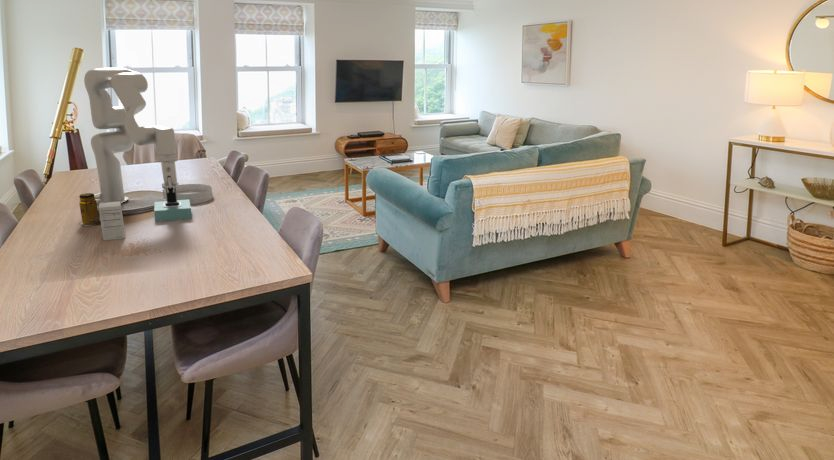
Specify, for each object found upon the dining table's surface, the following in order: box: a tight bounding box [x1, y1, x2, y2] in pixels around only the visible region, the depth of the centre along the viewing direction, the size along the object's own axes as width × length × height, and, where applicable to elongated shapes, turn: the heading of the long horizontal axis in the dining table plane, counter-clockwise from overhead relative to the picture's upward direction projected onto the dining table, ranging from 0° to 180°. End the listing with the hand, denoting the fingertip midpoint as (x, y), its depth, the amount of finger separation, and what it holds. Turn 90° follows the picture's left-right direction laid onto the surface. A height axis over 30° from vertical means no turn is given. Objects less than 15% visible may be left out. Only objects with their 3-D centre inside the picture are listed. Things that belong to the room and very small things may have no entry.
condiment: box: [78, 192, 101, 227], centre depth 236 cm, size 7×8×12 cm
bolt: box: [161, 182, 180, 206], centre depth 249 cm, size 6×6×12 cm
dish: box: [162, 183, 214, 205], centre depth 278 cm, size 22×22×5 cm
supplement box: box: [98, 202, 126, 241], centre depth 219 cm, size 7×7×13 cm
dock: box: [153, 199, 193, 222], centre depth 250 cm, size 14×16×5 cm
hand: (171, 200), depth 249 cm, fingers closed on bolt, 4 cm apart
